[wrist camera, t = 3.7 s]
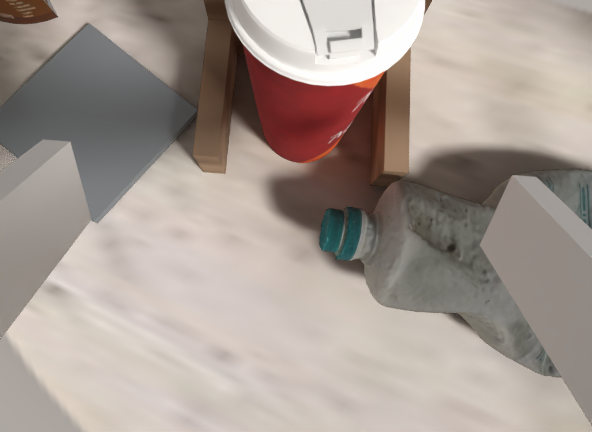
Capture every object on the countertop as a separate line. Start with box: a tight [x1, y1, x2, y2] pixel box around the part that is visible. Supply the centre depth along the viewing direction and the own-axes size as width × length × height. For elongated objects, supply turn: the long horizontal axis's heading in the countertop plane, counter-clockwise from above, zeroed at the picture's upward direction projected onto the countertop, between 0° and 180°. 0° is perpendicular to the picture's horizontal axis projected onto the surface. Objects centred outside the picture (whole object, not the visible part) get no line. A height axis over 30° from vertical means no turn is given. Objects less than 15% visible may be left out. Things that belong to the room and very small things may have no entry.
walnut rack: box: [192, 0, 432, 187], centre depth 21 cm, size 10×13×12 cm
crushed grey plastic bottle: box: [319, 169, 592, 377], centre depth 23 cm, size 13×7×25 cm
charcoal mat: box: [0, 24, 198, 223], centre depth 26 cm, size 10×10×1 cm
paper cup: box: [225, 0, 425, 163], centre depth 20 cm, size 8×8×14 cm
